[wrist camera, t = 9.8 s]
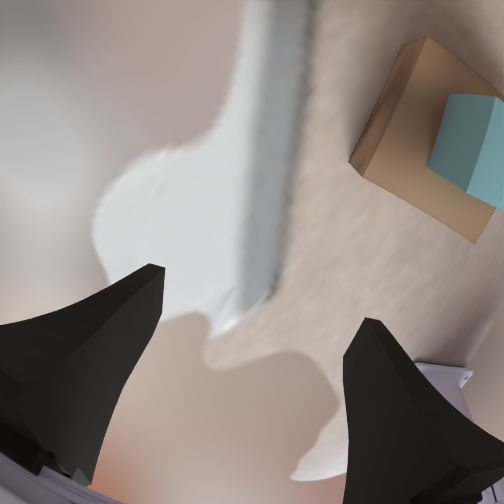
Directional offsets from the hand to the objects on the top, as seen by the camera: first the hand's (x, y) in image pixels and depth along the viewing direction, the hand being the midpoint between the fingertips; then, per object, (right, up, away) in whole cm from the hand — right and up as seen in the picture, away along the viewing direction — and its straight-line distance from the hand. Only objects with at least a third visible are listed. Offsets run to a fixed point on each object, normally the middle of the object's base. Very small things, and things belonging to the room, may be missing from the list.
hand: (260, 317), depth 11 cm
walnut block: (+10, +9, +5) cm, 15 cm away
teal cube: (+10, +7, +1) cm, 13 cm away
